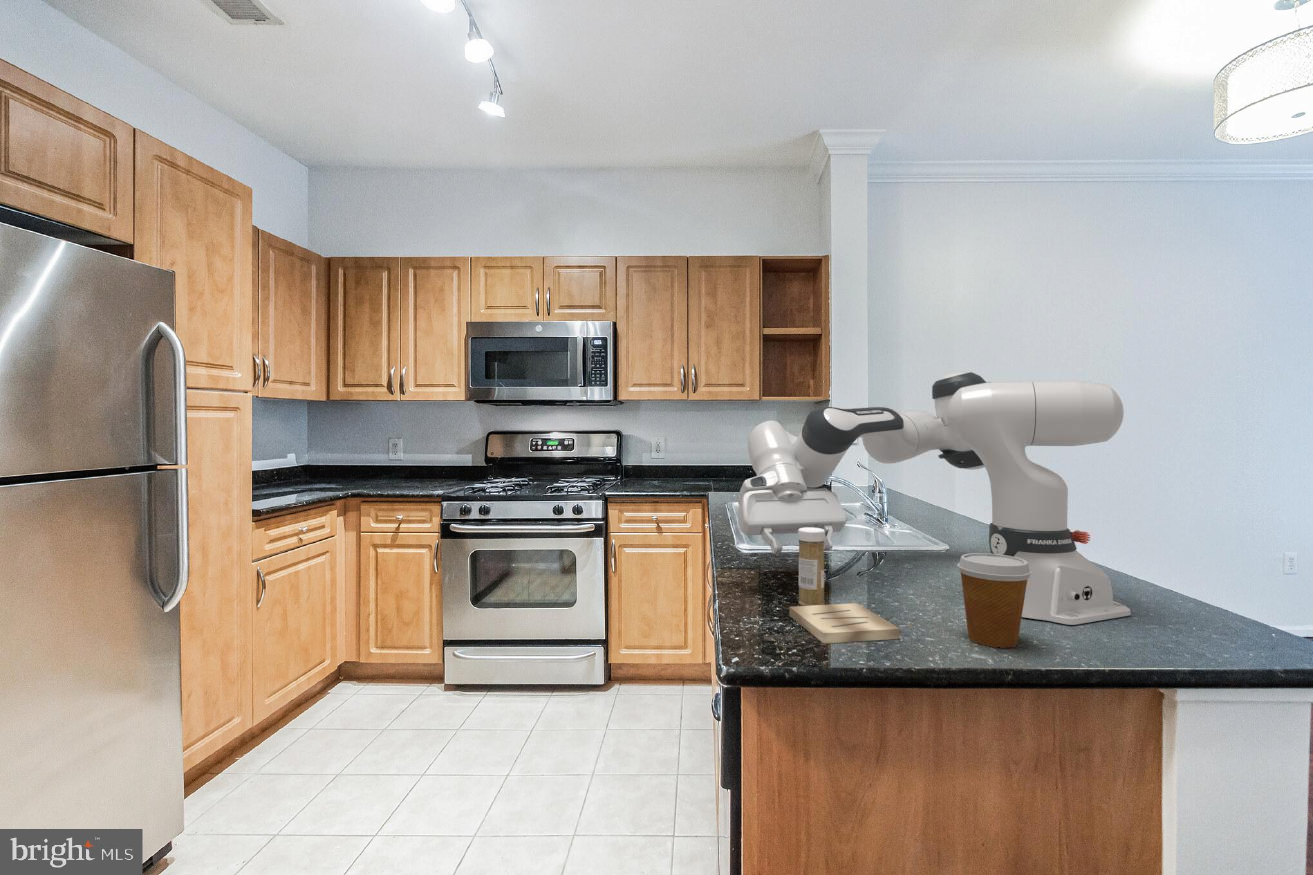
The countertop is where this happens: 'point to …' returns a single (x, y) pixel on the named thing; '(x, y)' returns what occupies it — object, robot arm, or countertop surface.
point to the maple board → (843, 623)
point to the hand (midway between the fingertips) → (803, 550)
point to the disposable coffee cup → (993, 597)
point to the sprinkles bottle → (811, 566)
